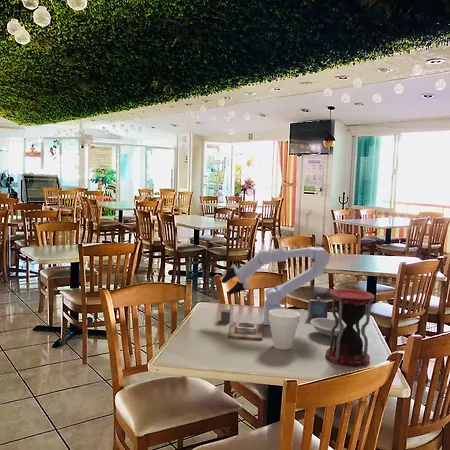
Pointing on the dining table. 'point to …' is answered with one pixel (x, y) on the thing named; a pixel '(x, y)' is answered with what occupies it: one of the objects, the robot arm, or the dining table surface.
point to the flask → (317, 308)
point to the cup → (283, 327)
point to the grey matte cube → (225, 316)
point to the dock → (246, 330)
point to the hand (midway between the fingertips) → (225, 287)
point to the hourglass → (349, 327)
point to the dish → (325, 326)
